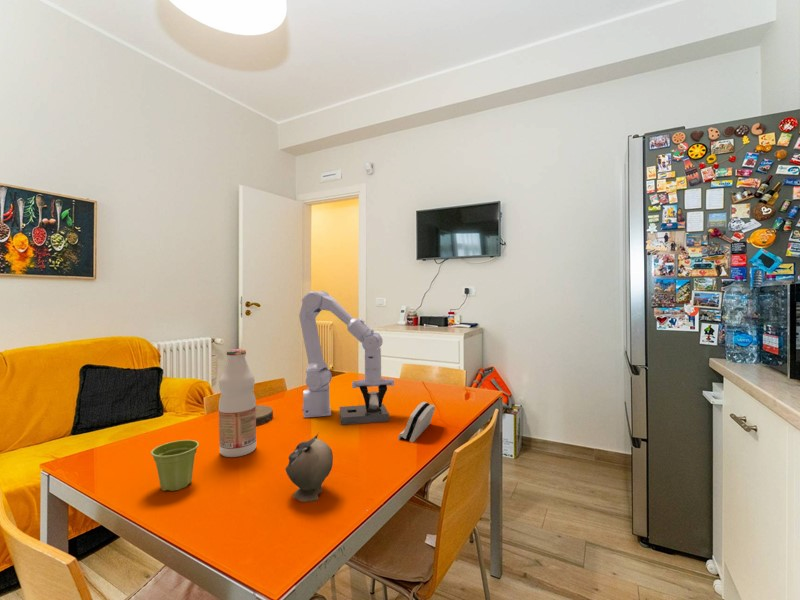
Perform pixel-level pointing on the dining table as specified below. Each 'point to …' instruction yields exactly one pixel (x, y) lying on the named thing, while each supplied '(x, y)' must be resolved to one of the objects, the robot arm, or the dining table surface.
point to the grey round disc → (263, 414)
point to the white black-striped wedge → (418, 421)
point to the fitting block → (362, 415)
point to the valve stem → (373, 401)
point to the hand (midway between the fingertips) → (373, 406)
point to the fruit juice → (237, 407)
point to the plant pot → (175, 463)
